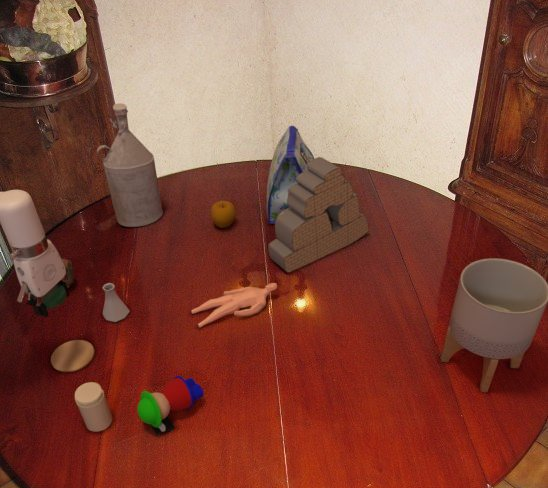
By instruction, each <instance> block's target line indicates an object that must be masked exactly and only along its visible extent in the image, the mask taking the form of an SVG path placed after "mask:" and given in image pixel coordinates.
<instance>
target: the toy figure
mask: <svg viewBox="0 0 548 488" xmlns="http://www.w3.org/2000/svg"><path fill="white" fill-rule="evenodd" d="M203 397H204V389H203V388H202V386H201V385H200V384H199V383H196V381H195V380H194V378H192V377H188V378H186V379H184V377H182V376H181V375H176V376H174V378H173V379H171V380H170V381H169V382H168V383H166V385H165V386H164V387H163V388H162V390H161V391H160V392H158V391H157V392H156V391H155V392H151V393H150V392H149V391H147V390H143V391H142V392H141V394H140V400H139V402H138V404H137V415H138V417H139V419H140V420H141V421H142V422H143V423H145V424H148V425H150V427H151V429H152V431H154V434H155V435H156V437H157V436H161V435H162V434H165V433H168V432H170V431H173V430H175V429H176V427H175V425H174V424H173V422H172V420H171V419H170V417H169V414H170V411H182V410H185V409H191V408H193V406H194V403H195V402H196V401H197V400H199V399H201V398H203Z"/></svg>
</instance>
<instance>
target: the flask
mask: <svg viewBox="0 0 548 488" xmlns="http://www.w3.org/2000/svg"><path fill="white" fill-rule="evenodd" d="M102 290H103V291H104V304H103V309H102V316H103V318H104V319H105V321H109V322H113V323H116V322H118V321H121V320H124V319H125V318H126V317H127V316H128V315H129V313H130V312H131V310H130V309H129V308H128V306H127V305H126V304H125V303H124V302H123V301H122V299H121V298H120V297H119V295H118V294H117V292H116V285H115V284H114V283H112V282H107V283H105V284H104V285H103V286H102Z"/></svg>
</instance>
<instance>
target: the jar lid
mask: <svg viewBox="0 0 548 488" xmlns="http://www.w3.org/2000/svg"><path fill="white" fill-rule="evenodd" d="M67 297H68V296H67V294H66V291H65V288H64V287H63V286H62V285H60V284H56V285H55V286H54V287H53V288H52V289H51V290H49V291H48V292H47V293H46V294H45V295H44V296H42V299H41V303H43V304H44V305H45V307H46V310H48V309H53V308H57V307H58V306H61V305H62V304H63V303H65V301H66V300H67ZM34 300H36V296H34Z"/></svg>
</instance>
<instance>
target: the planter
mask: <svg viewBox="0 0 548 488" xmlns="http://www.w3.org/2000/svg"><path fill="white" fill-rule="evenodd" d="M547 305H548V282H547V281H546V279H545V278H544V277H543V276H542V274H540V273H539V272H537V271H536V270H534V269H533V268H531V267H529V266H528V265H525V264H523V263H520V262H518V261H514V260H510V259H506V258H498V257H497V258H495V257H493V258H483V259H478V260H475V261H473V262H470V263H469V264H467V266H465V267H464V268H463V270H462V272H461V273H460V277H459V281H458V284H457V289H456V292H455V297H454V301H453V305H452V308H451V312H450V318H449V321H448V327H447V329H446V333H445V337H444V342H443V345H442V348H441V349H442V350H441V354H440V362H441V363H449V362H450V359H451V358H452V357H453V356H454V355H455V354H456V353H457V352H458V351H461V350H462V349H466V350H467V351H469V352H470V353H473V354H474V355H477V356H481V357H482V361H483V363H482V372H481V378H480V384H479V390H480V392H481V393H482V392H483V393H488V392H489V388H490V386H491V384H492V380H493V377H494V374H495V372H496V369H497V366H498V363H499V360H507V359H510V362H509V366H510V368H511V369H519V368H520V365H521V363H522V360H523V358H524V355H525V353H526V351H527V350H529V348H530V347H531V344H532V342H533V339H534V337H535V335H536V332H537V329H538V327H539V325H540V322H541V319H542V317H543V314H544V313H545V310H546V308H547Z"/></svg>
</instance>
